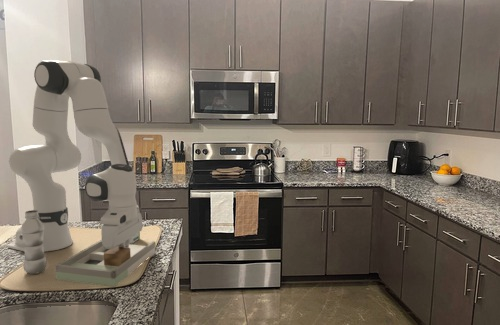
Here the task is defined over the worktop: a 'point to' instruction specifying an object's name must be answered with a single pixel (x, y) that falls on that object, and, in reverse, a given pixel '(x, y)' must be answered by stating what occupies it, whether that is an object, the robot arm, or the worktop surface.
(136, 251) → the box
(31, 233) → the plastic bottle
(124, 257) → the walnut block
